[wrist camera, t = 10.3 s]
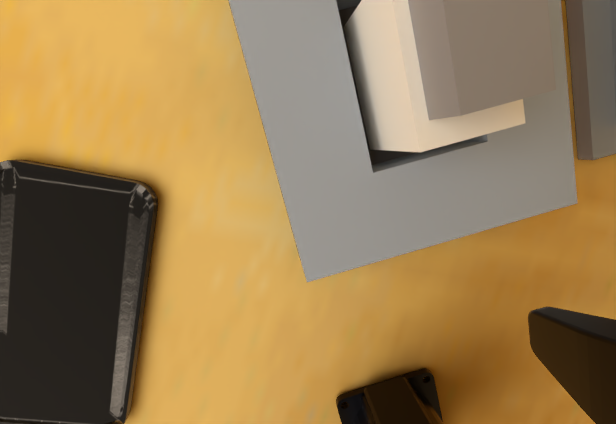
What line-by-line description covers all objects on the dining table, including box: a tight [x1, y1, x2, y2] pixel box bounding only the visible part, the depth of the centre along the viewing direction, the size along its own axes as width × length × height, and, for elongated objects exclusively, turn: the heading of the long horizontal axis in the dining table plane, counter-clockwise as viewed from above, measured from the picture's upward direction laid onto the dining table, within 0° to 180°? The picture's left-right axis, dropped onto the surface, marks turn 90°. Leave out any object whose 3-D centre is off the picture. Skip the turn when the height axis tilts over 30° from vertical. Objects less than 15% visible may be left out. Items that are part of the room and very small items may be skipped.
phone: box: [0, 160, 158, 424], centre depth 19 cm, size 8×1×15 cm
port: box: [228, 0, 577, 282], centre depth 17 cm, size 16×14×4 cm
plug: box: [344, 0, 556, 152], centre depth 13 cm, size 6×4×8 cm, turn 15°
